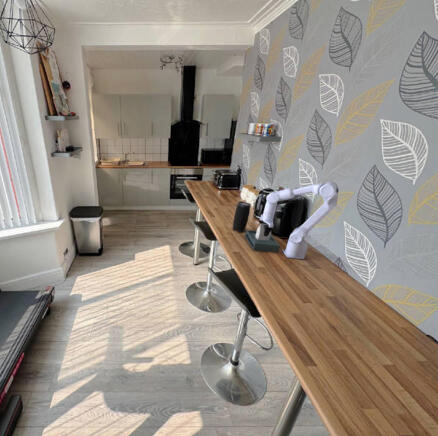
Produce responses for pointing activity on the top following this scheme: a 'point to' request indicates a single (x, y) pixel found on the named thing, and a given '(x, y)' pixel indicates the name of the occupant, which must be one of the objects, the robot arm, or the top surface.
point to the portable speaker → (241, 216)
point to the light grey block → (261, 233)
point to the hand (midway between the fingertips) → (263, 233)
